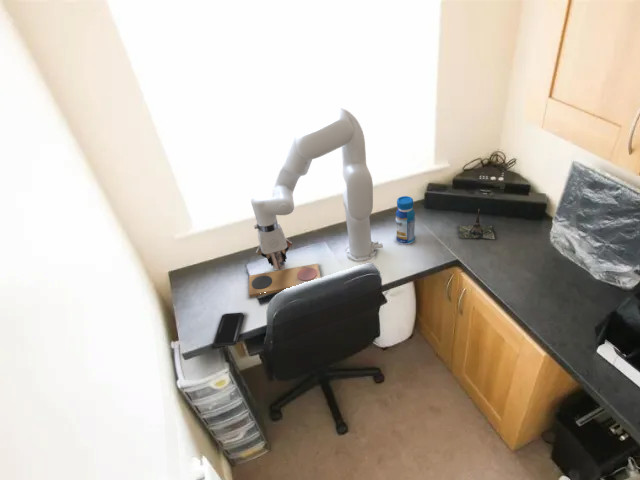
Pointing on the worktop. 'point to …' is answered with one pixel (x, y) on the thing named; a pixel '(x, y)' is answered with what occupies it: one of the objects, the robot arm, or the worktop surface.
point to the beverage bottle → (405, 220)
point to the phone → (228, 329)
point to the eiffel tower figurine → (476, 230)
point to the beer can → (277, 260)
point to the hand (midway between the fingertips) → (278, 262)
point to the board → (281, 279)
